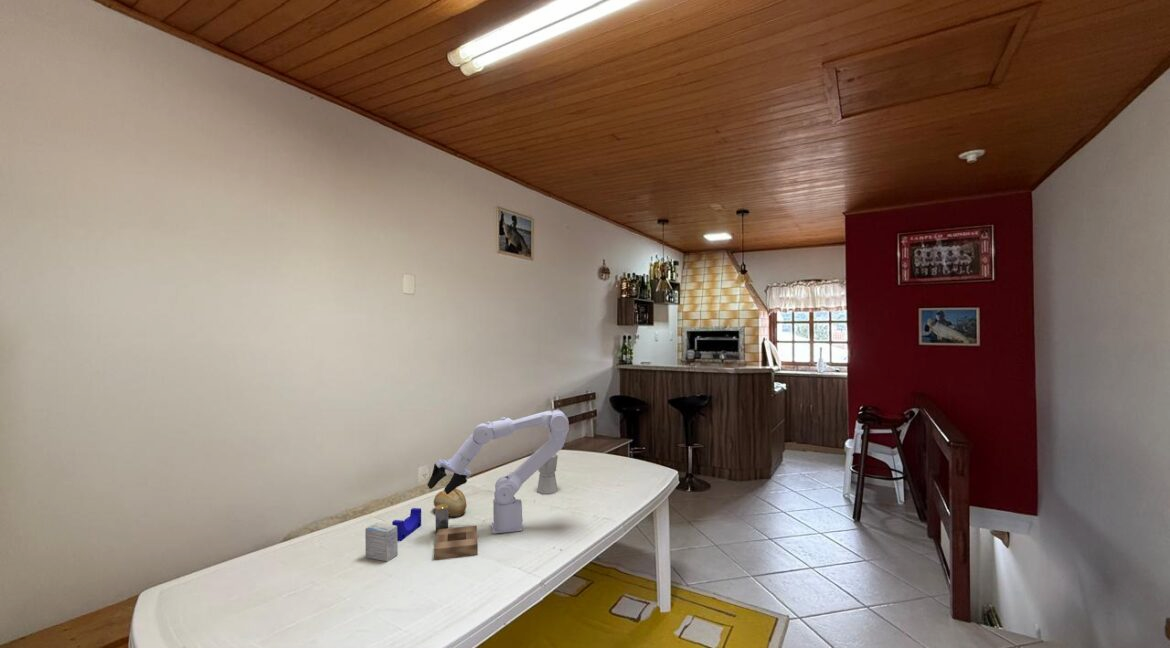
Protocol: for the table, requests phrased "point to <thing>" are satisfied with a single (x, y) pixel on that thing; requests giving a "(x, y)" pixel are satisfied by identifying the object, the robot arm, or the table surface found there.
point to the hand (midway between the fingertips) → (437, 489)
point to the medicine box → (381, 541)
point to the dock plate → (456, 542)
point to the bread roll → (452, 502)
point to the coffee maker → (548, 477)
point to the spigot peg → (441, 517)
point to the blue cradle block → (408, 524)
